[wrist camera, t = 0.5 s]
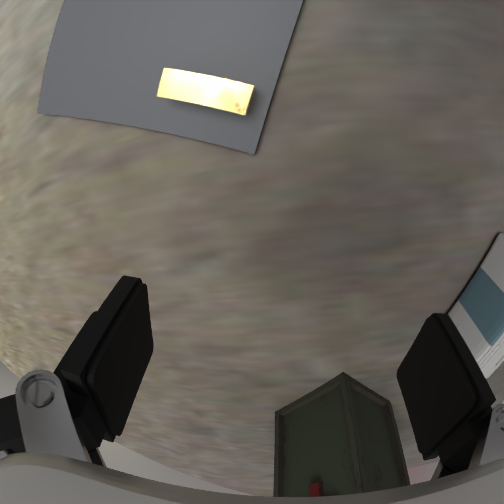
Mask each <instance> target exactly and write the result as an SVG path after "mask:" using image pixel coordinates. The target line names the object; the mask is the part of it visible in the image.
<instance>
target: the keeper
mask: <svg viewBox="0 0 504 504" xmlns="http://www.w3.org/2000/svg"><path fill="white" fill-rule="evenodd" d="M254 92H255V88H254V86H253V85H249V84H245V83H241V82H237V81H233V80H228V79H224V78H219V77H214V76H210V75H205V74H199V73H194V72H188V71H182V70H176V69H169V68H164V70H163V73H162V77H161V81H160V85H159V89H158V93H157V96H158V97H164V98H170V99H175V100H180V101H186V102H191V103H195V104H200V105H205V106H209V107H214V108H218V109H222V110H226V111H230V112H234V113H238V114H242V115H246V114H247V113H248V112H249V108H250V105H251V102H252V98H253V95H254Z"/></svg>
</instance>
